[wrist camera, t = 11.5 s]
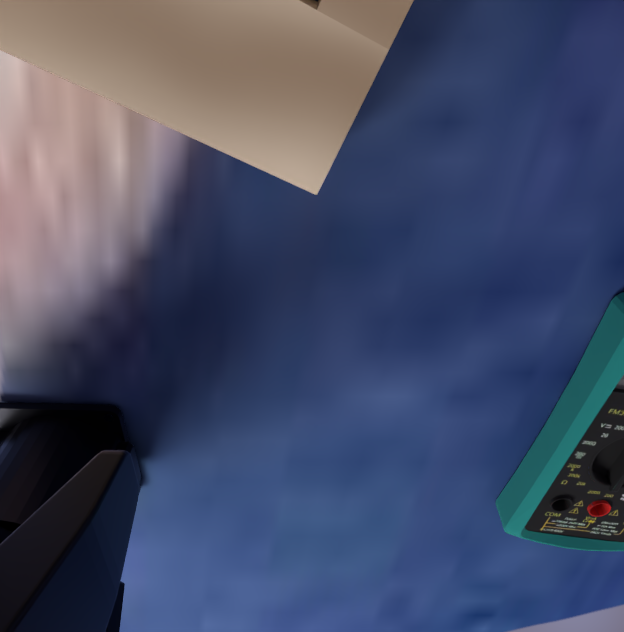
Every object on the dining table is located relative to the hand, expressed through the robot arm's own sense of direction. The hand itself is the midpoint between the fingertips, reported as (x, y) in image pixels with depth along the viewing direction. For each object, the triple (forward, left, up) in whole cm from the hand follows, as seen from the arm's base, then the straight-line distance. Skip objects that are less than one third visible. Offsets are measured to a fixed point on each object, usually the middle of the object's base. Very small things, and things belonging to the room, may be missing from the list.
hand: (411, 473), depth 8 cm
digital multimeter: (+13, -12, -14) cm, 22 cm away
